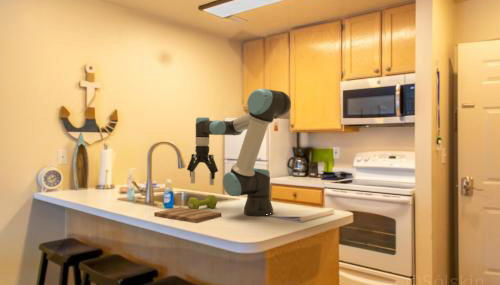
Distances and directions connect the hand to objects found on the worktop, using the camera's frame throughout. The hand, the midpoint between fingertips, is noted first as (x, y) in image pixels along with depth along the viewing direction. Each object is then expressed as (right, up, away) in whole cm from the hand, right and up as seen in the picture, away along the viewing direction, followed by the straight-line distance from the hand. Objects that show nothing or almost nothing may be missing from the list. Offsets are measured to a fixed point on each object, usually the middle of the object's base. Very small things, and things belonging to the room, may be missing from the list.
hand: (202, 184), depth 203 cm
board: (-4, -14, -20) cm, 25 cm away
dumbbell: (0, -14, 0) cm, 14 cm away
